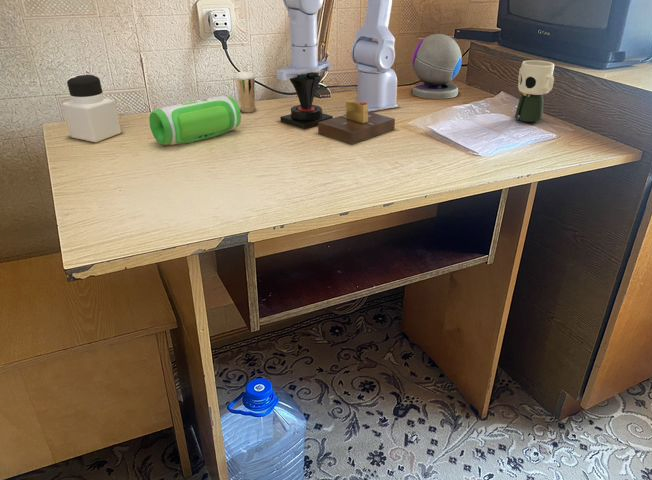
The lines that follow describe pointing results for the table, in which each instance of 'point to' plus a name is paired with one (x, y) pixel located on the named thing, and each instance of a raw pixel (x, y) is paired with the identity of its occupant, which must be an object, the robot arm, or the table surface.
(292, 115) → the black button base
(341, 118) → the lock plate
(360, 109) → the tan red block
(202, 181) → the table surface
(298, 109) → the release button
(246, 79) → the milkshake
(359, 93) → the robot arm
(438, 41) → the webcam
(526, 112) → the character mug
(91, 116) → the medicine bottle
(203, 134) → the speaker
